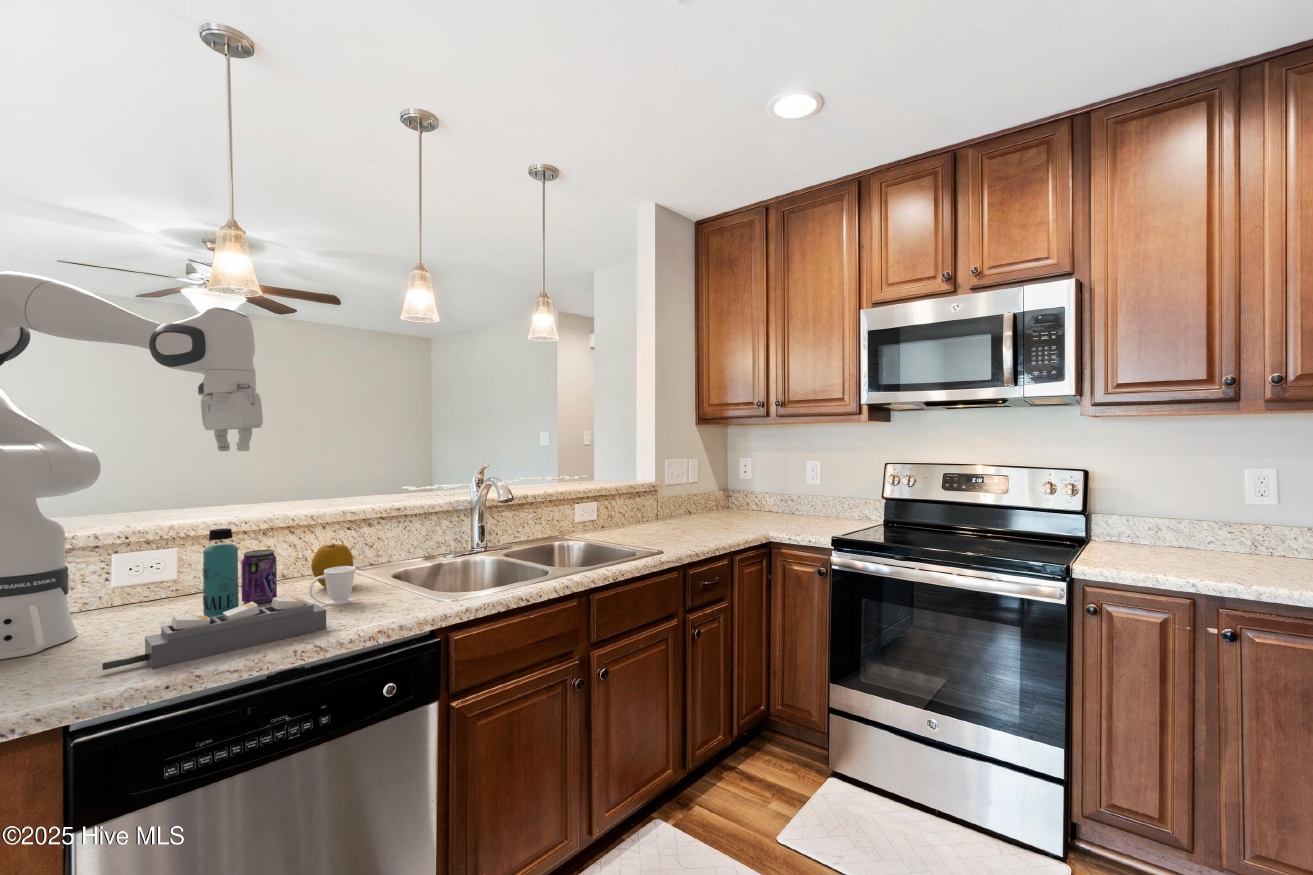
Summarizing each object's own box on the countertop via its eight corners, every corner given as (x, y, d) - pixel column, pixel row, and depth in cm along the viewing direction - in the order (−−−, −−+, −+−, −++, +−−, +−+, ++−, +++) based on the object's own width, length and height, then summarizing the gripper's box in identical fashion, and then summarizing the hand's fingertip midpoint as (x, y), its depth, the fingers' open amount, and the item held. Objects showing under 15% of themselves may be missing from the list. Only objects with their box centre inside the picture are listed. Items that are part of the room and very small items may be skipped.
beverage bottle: (228, 614, 135) (227, 525, 135) (246, 618, 132) (245, 527, 132) (196, 622, 129) (194, 529, 129) (213, 626, 127) (212, 531, 126)
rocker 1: (174, 629, 108) (177, 619, 108) (170, 624, 110) (173, 615, 110) (208, 628, 111) (210, 618, 112) (203, 624, 114) (205, 614, 114)
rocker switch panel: (105, 679, 100) (104, 646, 100) (100, 668, 104) (99, 637, 104) (326, 628, 125) (326, 602, 125) (314, 621, 130) (313, 596, 130)
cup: (360, 602, 144) (360, 568, 144) (314, 611, 137) (314, 576, 137) (350, 596, 149) (350, 564, 149) (305, 605, 142) (305, 571, 142)
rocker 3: (276, 609, 120) (278, 600, 120) (270, 605, 122) (272, 597, 122) (303, 609, 123) (305, 600, 124) (297, 605, 126) (299, 597, 126)
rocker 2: (229, 623, 114) (227, 615, 114) (224, 620, 116) (222, 611, 116) (259, 612, 117) (257, 604, 117) (254, 609, 120) (252, 601, 120)
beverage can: (259, 606, 142) (258, 555, 141) (234, 604, 143) (233, 554, 143) (283, 598, 148) (283, 549, 148) (259, 596, 150) (259, 548, 150)
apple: (309, 593, 153) (309, 547, 152) (313, 584, 161) (313, 541, 161) (352, 589, 157) (352, 544, 157) (354, 580, 165) (353, 538, 165)
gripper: (270, 382, 123) (272, 450, 124) (227, 389, 135) (229, 450, 135) (235, 381, 118) (238, 451, 118) (193, 387, 130) (196, 451, 130)
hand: (233, 451), depth 127 cm, fingers open, 8 cm apart
